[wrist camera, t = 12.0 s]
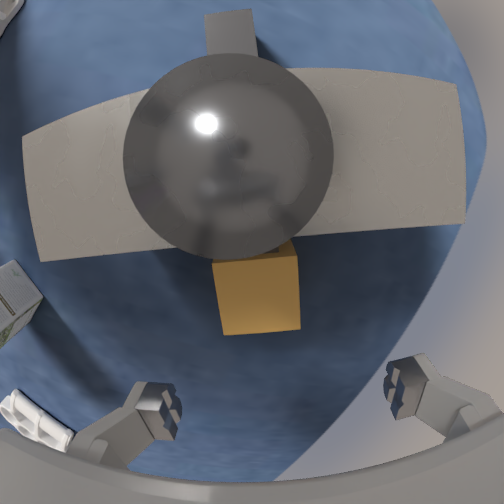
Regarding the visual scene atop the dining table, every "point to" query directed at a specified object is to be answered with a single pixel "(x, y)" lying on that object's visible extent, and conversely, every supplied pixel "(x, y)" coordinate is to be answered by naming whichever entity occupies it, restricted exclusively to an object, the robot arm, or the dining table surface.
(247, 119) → the grey bridge block
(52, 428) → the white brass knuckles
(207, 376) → the dining table surface
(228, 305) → the grey and tan bar
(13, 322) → the syrup box
